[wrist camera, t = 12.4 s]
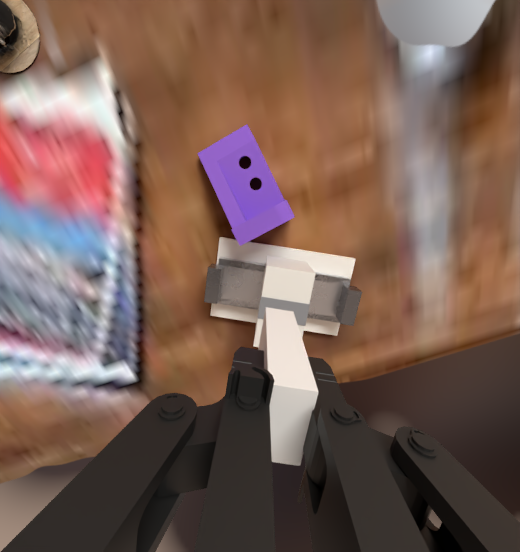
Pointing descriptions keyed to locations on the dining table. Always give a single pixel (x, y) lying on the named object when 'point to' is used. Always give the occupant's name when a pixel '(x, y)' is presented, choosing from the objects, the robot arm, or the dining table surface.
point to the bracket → (244, 186)
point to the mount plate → (260, 252)
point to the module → (285, 290)
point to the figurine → (17, 36)
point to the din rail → (248, 283)
